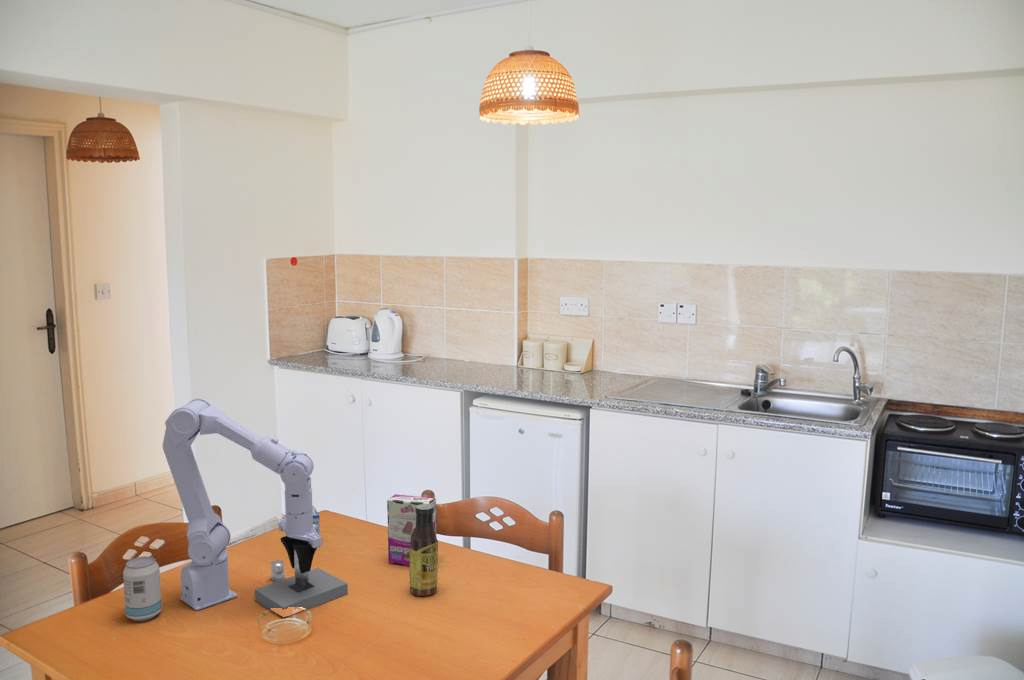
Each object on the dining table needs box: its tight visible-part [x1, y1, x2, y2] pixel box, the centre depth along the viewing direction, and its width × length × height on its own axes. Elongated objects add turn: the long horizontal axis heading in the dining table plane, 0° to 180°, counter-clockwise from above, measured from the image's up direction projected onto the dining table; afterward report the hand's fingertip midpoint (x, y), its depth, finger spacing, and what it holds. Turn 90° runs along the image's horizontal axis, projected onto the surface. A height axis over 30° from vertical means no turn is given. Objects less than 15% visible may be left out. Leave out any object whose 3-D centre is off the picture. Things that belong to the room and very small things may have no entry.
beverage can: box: [122, 555, 163, 622], centre depth 168 cm, size 7×7×12 cm
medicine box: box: [312, 505, 321, 547], centre depth 208 cm, size 8×4×9 cm, turn 25°
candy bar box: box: [386, 493, 437, 567], centre depth 195 cm, size 11×5×16 cm, turn 73°
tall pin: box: [294, 549, 309, 587], centre depth 177 cm, size 3×3×9 cm
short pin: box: [270, 559, 286, 583], centre depth 187 cm, size 3×3×4 cm
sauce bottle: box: [409, 504, 439, 597], centre depth 180 cm, size 7×6×20 cm
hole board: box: [254, 567, 349, 610], centre depth 178 cm, size 16×12×2 cm
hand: (301, 569), depth 177 cm, fingers closed on tall pin, 3 cm apart
